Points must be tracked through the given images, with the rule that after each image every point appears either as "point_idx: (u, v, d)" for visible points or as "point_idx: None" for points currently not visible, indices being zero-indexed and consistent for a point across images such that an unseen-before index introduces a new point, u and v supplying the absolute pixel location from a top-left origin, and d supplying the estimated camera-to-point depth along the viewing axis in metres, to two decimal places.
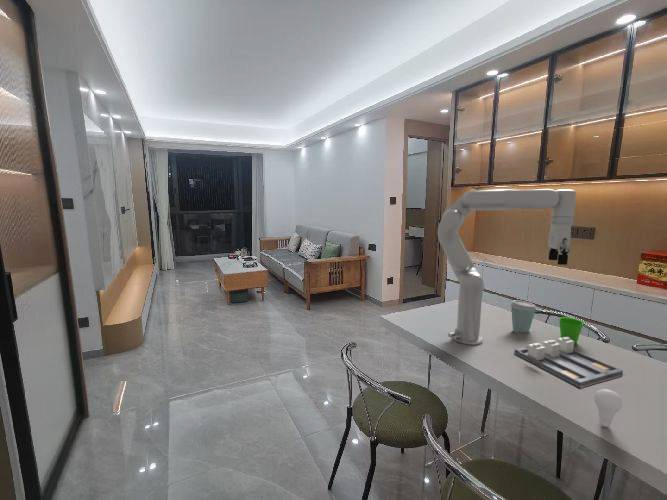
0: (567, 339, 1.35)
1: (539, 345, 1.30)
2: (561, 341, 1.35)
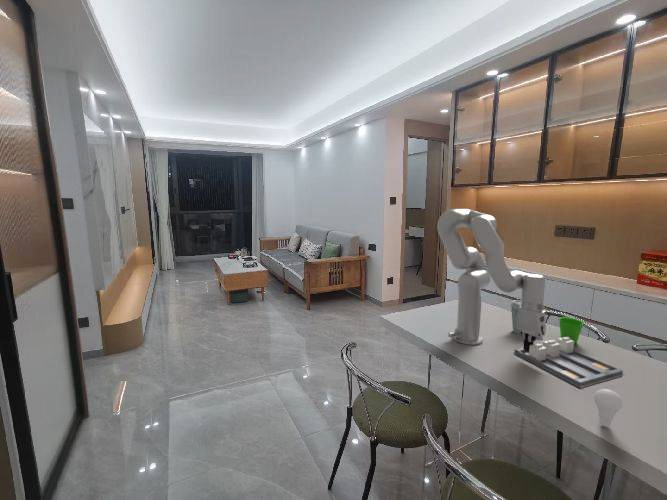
0: (567, 339, 1.35)
1: (540, 346, 1.29)
2: (561, 341, 1.35)
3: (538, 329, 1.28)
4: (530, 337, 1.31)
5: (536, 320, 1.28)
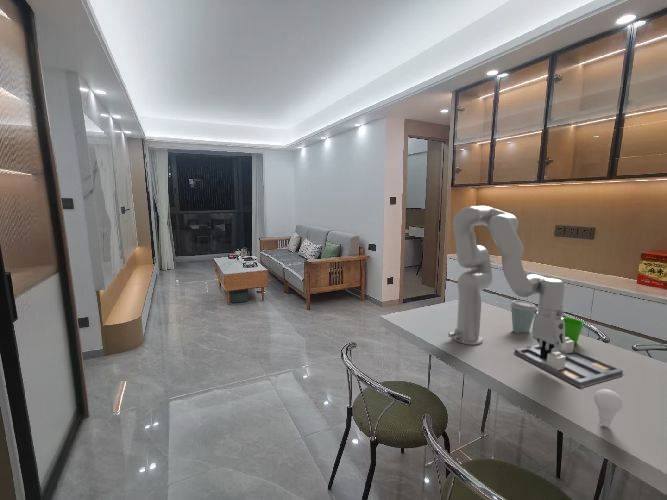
0: (567, 339, 1.35)
1: (559, 354, 1.22)
2: None
3: (557, 337, 1.21)
4: (548, 345, 1.24)
5: (555, 327, 1.21)
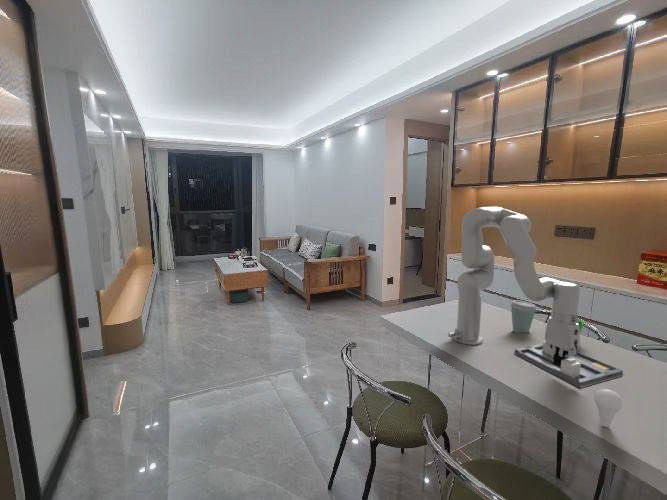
0: None
1: (574, 361, 1.18)
2: None
3: (571, 343, 1.16)
4: (561, 351, 1.20)
5: (569, 333, 1.16)
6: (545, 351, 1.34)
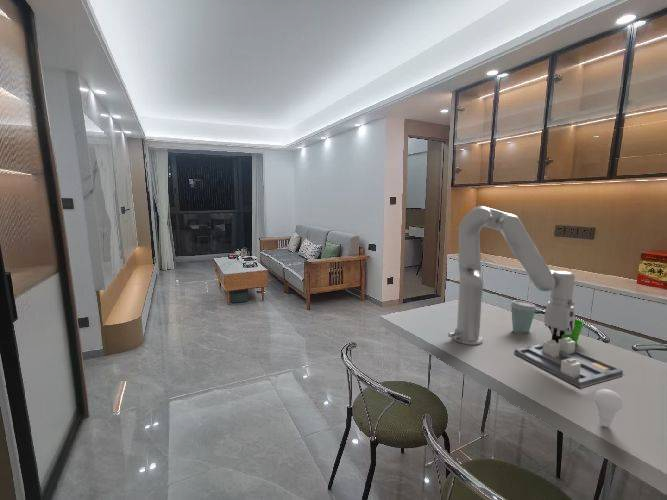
0: (568, 340, 1.35)
1: (574, 361, 1.17)
2: (562, 342, 1.35)
3: (567, 324, 1.33)
4: (559, 331, 1.37)
5: (565, 315, 1.33)
6: (545, 351, 1.34)
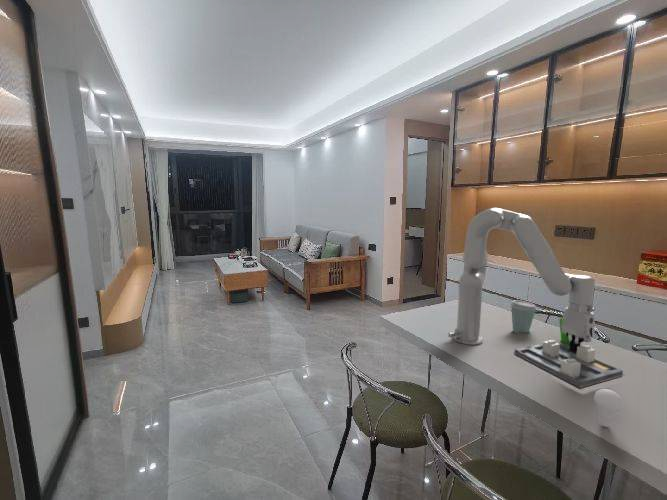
0: (588, 347, 1.28)
1: (574, 361, 1.17)
2: (581, 349, 1.28)
3: (587, 331, 1.26)
4: (577, 339, 1.30)
5: (585, 322, 1.26)
6: (545, 351, 1.34)
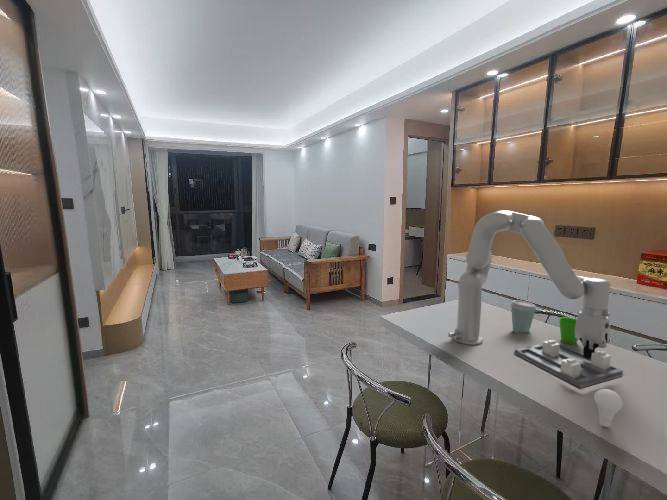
0: (603, 353, 1.23)
1: (574, 361, 1.17)
2: (596, 356, 1.23)
3: (602, 336, 1.21)
4: (592, 344, 1.25)
5: (600, 327, 1.21)
6: (545, 351, 1.34)
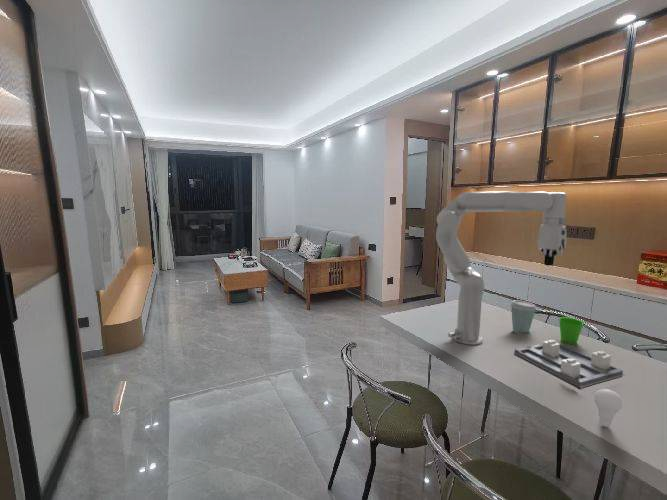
0: (603, 354, 1.23)
1: (574, 361, 1.17)
2: (596, 356, 1.23)
3: (559, 242, 1.36)
4: (551, 252, 1.40)
5: (557, 233, 1.36)
6: (545, 351, 1.34)
